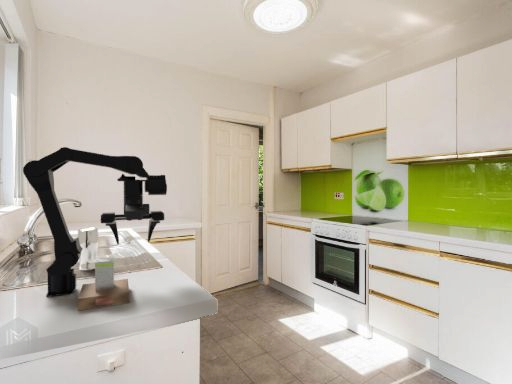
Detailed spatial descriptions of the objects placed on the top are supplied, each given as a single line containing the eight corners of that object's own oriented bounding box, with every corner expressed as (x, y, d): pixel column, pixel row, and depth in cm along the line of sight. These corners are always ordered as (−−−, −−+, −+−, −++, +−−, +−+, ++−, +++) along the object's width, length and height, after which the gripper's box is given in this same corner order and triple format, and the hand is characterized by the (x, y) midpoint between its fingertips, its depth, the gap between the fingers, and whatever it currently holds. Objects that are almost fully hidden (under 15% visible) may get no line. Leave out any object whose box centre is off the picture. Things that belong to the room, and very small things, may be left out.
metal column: (95, 291, 79) (94, 262, 79) (96, 286, 83) (96, 258, 83) (113, 289, 81) (113, 260, 81) (114, 284, 85) (113, 257, 85)
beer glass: (79, 266, 113) (78, 228, 113) (99, 265, 116) (99, 227, 116) (76, 271, 107) (75, 231, 107) (97, 269, 110) (97, 230, 109)
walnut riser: (77, 311, 74) (77, 299, 74) (82, 294, 85) (82, 284, 85) (129, 302, 79) (129, 292, 79) (127, 288, 90) (127, 278, 90)
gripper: (99, 196, 83) (99, 250, 84) (166, 195, 91) (166, 245, 92) (101, 195, 93) (101, 243, 94) (161, 194, 101) (162, 239, 102)
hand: (133, 243), depth 95 cm, fingers open, 9 cm apart
